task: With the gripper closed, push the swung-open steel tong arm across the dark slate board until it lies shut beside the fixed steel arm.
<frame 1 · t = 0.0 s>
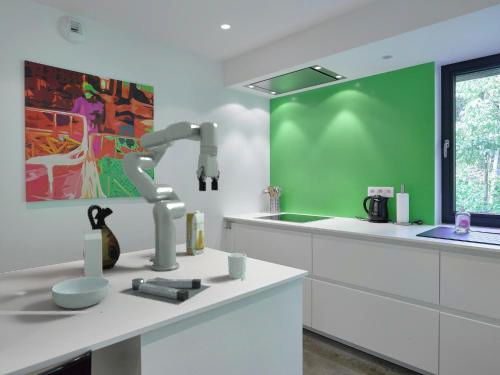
hand: (208, 190, 142), 37 cm above the counter, tool pointing down, fingers open, 9 cm apart
milk: (93, 286, 127), on the counter
white cup: (237, 279, 137), on the counter
moving tong arm: (166, 283, 121), point 3 cm above the counter, hinge at 25.0°
slate board: (166, 292, 120), on the counter
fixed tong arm: (137, 288, 121), resting on slate board
ceramic jug: (100, 270, 149), on the counter
cereal bowl: (81, 306, 108), on the counter
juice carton: (195, 253, 182), on the counter
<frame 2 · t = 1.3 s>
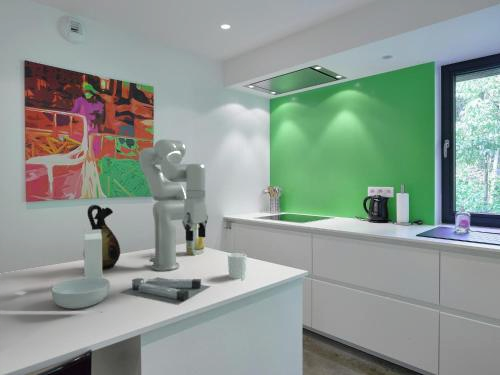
hand: (195, 238, 130), 18 cm above the counter, tool pointing down, fingers open, 7 cm apart
nothing on the counter moved.
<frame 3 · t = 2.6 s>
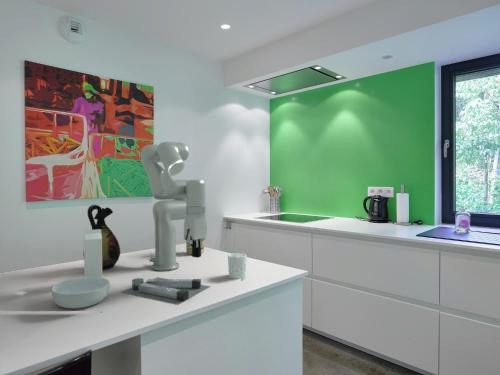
hand: (196, 256, 129), 11 cm above the counter, tool pointing down, fingers closed
nothing on the counter moved.
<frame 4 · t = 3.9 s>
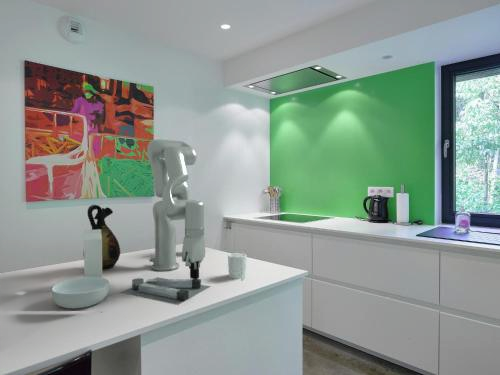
hand: (194, 278, 129), 2 cm above the counter, tool pointing down, fingers closed
nothing on the counter moved.
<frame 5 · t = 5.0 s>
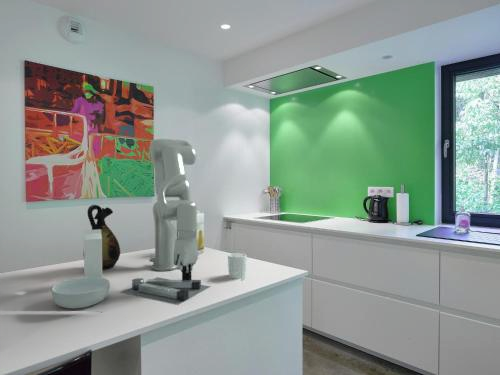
hand: (186, 281, 125), 2 cm above the counter, tool pointing down, fingers closed
moving tong arm: (166, 284, 121), point 3 cm above the counter, hinge at 22.8°, touching gripper
everything else where it was.
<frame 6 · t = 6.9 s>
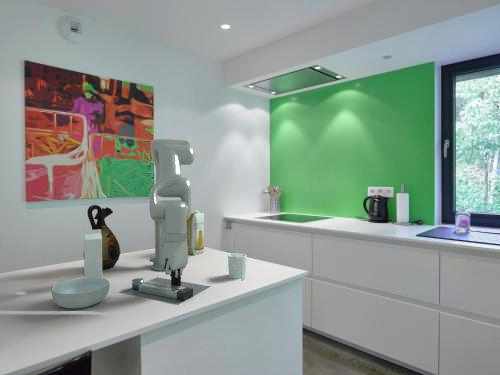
hand: (176, 287, 118), 2 cm above the counter, tool pointing down, fingers closed
moving tong arm: (160, 288, 116), point 3 cm above the counter, hinge at -1.5°, touching gripper
everything else where it was.
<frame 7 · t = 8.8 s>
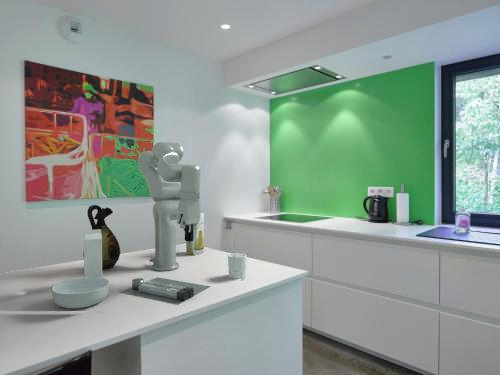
hand: (189, 240, 132), 17 cm above the counter, tool pointing down, fingers closed
moving tong arm: (160, 287, 117), point 3 cm above the counter, hinge at -0.6°
everything else where it was.
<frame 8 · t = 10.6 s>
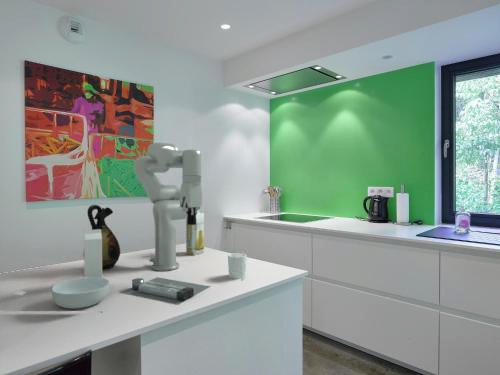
hand: (191, 224, 134), 23 cm above the counter, tool pointing down, fingers closed
nothing on the counter moved.
at the end: moving tong arm at -1° (first picture: +25°); cereal bowl moved 0.3 cm from its start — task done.
